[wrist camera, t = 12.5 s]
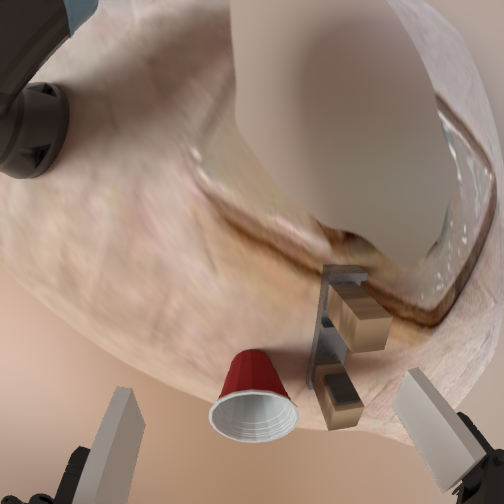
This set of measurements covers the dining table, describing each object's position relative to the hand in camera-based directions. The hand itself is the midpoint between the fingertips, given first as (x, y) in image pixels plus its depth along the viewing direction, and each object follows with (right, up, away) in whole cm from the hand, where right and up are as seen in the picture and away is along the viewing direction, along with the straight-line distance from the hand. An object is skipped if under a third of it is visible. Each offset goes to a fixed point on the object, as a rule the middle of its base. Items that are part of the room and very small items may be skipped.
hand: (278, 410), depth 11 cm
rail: (+10, -4, +28) cm, 30 cm away
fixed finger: (+10, -11, +27) cm, 31 cm away
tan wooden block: (+11, +1, +24) cm, 26 cm away
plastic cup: (-1, -10, +29) cm, 30 cm away
